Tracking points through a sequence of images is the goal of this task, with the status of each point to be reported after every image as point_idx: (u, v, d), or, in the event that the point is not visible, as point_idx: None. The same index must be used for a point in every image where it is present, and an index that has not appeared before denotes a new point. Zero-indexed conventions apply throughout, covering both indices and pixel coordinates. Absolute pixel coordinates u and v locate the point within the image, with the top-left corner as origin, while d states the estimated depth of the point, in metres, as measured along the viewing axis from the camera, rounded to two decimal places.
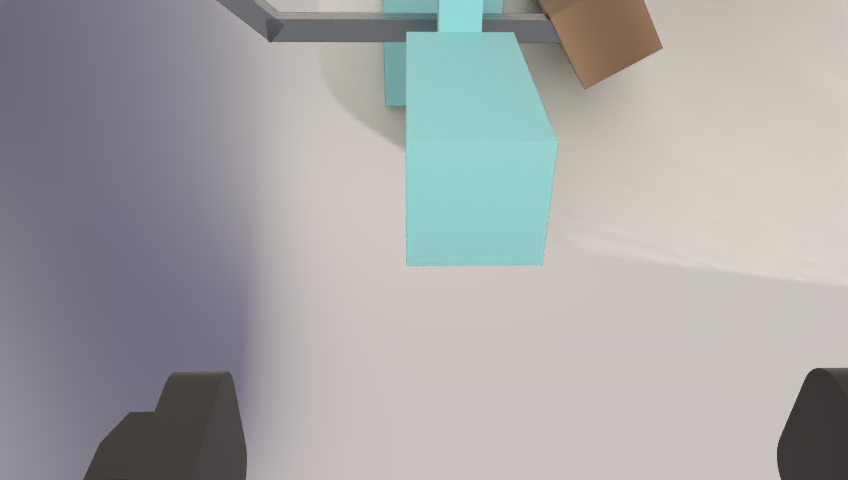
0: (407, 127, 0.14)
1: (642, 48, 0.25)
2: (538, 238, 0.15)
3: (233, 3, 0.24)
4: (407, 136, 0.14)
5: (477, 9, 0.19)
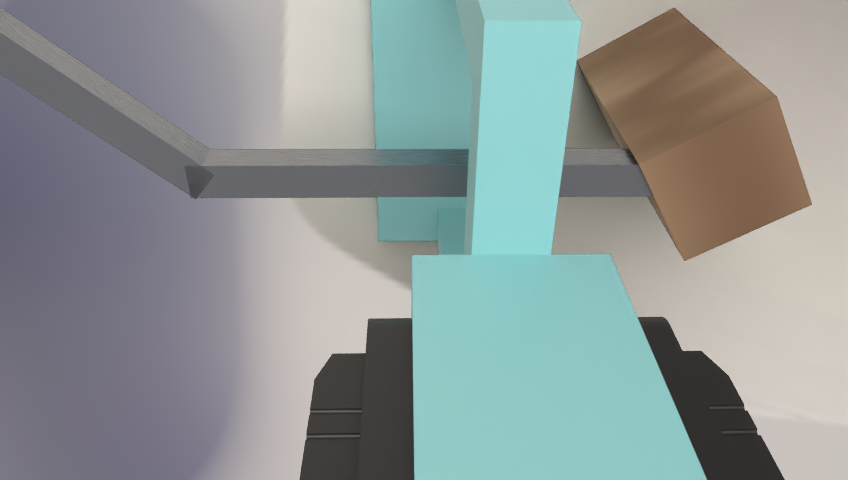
0: None
1: (779, 204, 0.16)
2: None
3: (130, 143, 0.15)
4: None
5: (545, 219, 0.10)
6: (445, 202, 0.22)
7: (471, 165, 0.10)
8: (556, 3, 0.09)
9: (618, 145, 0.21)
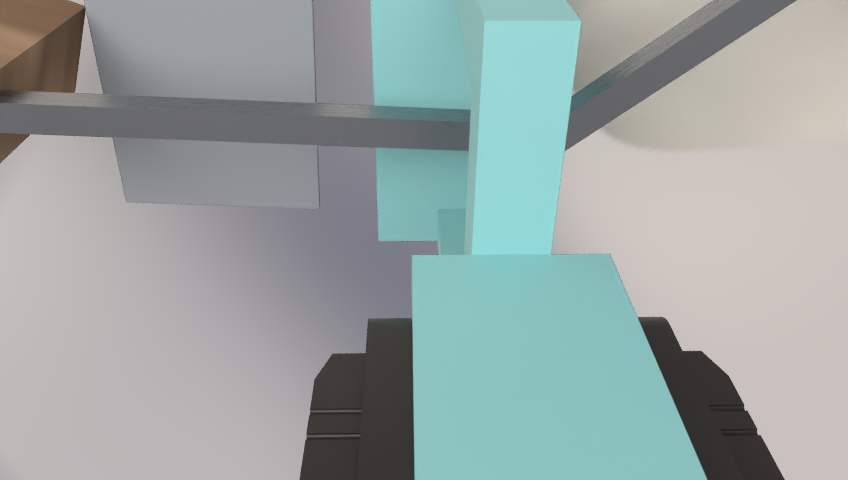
0: None
1: None
2: None
3: None
4: None
5: (545, 219, 0.10)
6: (445, 202, 0.22)
7: (471, 165, 0.11)
8: (556, 3, 0.09)
9: None
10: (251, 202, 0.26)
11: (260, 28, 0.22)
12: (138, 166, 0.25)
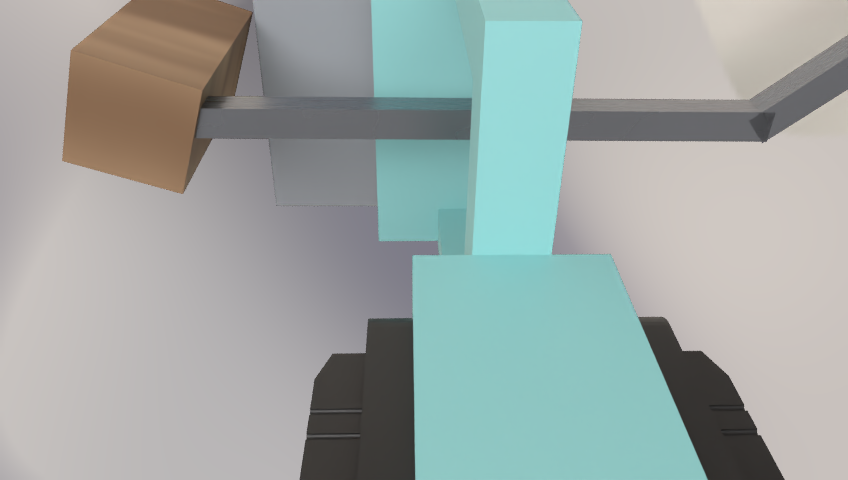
0: None
1: None
2: None
3: (701, 130, 0.18)
4: None
5: (545, 219, 0.10)
6: (445, 202, 0.22)
7: (471, 165, 0.11)
8: (556, 3, 0.09)
9: None
10: None
11: None
12: (291, 169, 0.25)
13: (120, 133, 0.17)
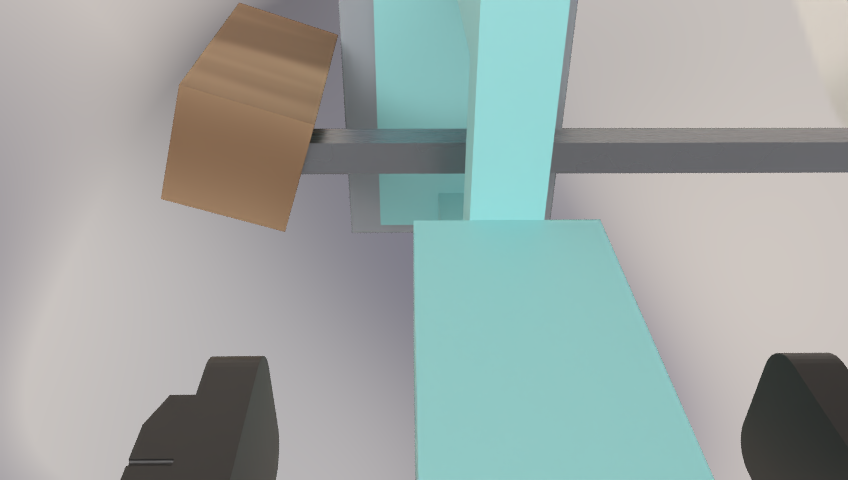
0: None
1: None
2: None
3: (836, 161, 0.17)
4: None
5: (538, 186, 0.11)
6: (445, 186, 0.23)
7: (469, 136, 0.11)
8: None
9: None
10: None
11: None
12: (370, 196, 0.24)
13: (224, 169, 0.16)
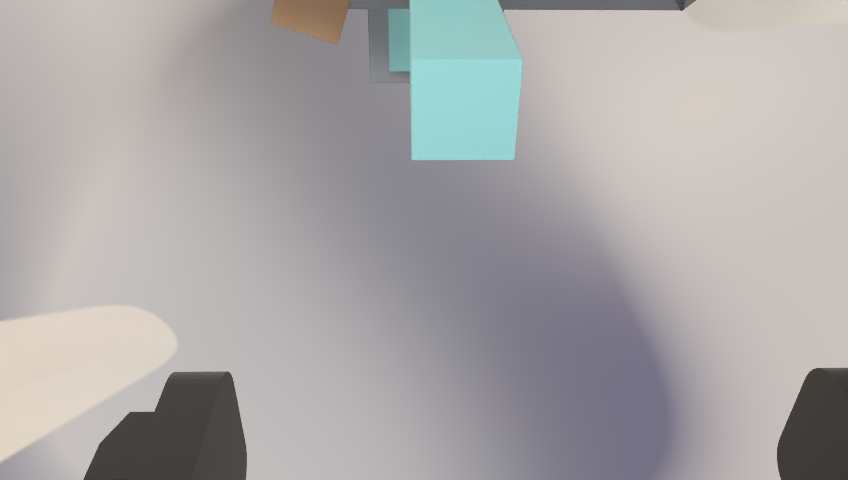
0: (412, 51, 0.19)
1: None
2: (510, 137, 0.20)
3: (644, 3, 0.30)
4: (412, 56, 0.19)
5: None
6: None
7: None
8: None
9: None
10: None
11: None
12: (382, 56, 0.37)
13: (306, 4, 0.30)
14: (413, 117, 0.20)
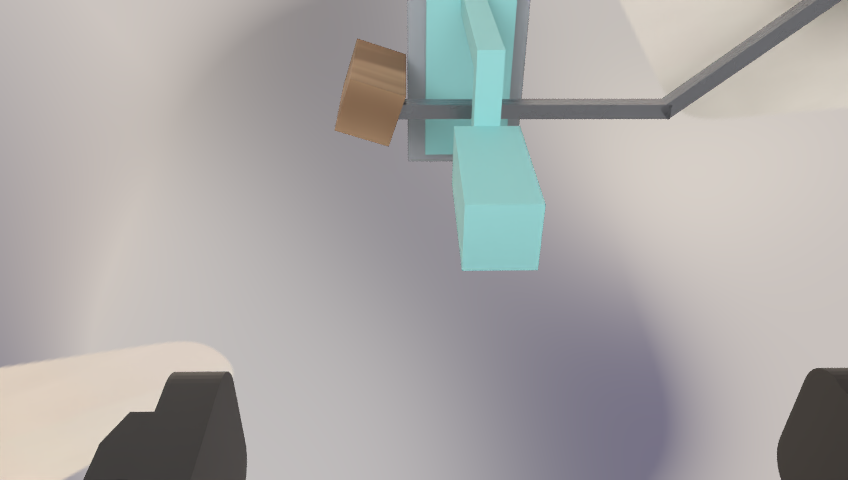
0: (464, 196, 0.26)
1: None
2: (535, 255, 0.27)
3: (638, 113, 0.37)
4: (465, 201, 0.26)
5: (497, 113, 0.31)
6: None
7: (473, 96, 0.32)
8: (499, 44, 0.31)
9: None
10: None
11: None
12: (418, 140, 0.45)
13: (364, 116, 0.37)
14: (464, 242, 0.27)
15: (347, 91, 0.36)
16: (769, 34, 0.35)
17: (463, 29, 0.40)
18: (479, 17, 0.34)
